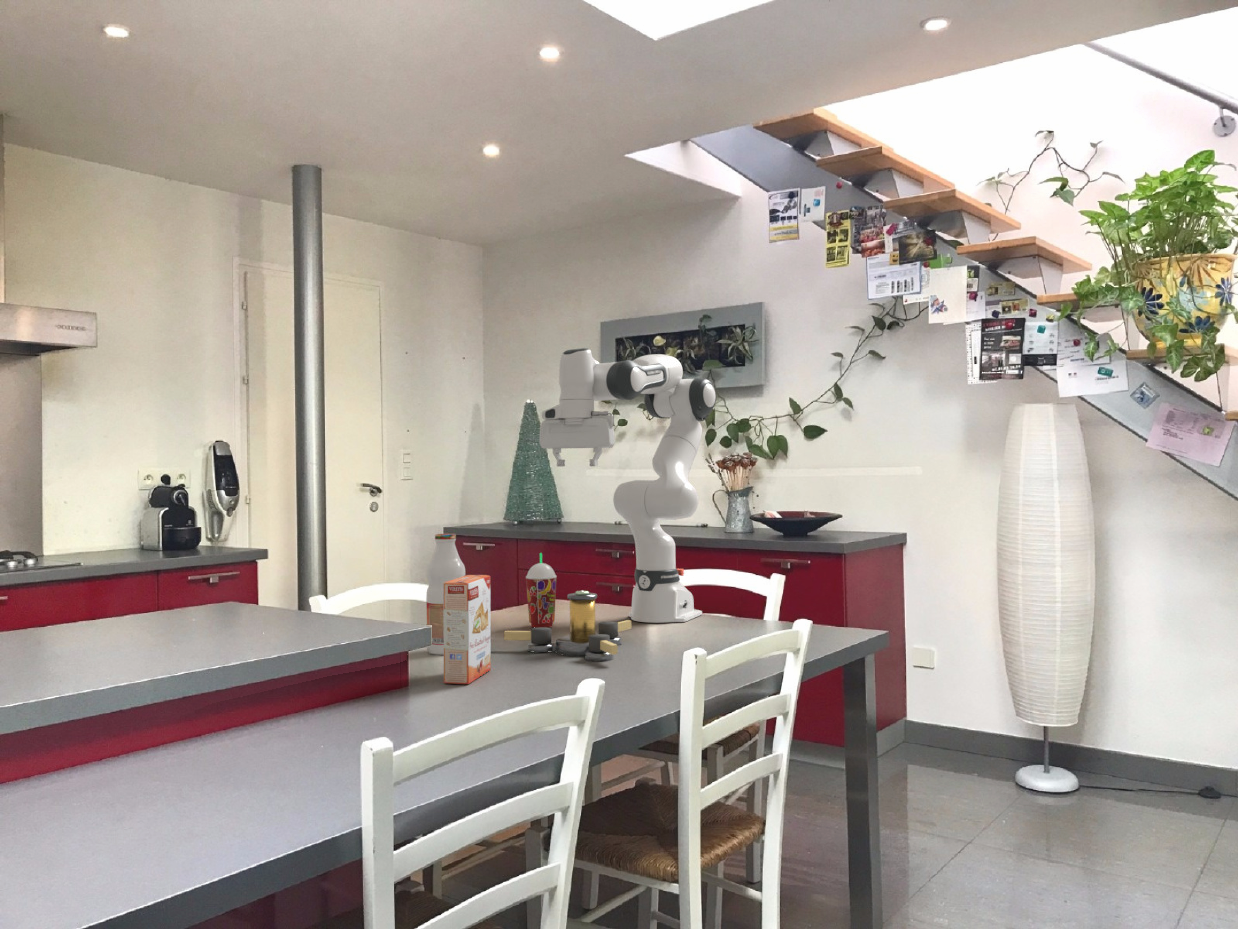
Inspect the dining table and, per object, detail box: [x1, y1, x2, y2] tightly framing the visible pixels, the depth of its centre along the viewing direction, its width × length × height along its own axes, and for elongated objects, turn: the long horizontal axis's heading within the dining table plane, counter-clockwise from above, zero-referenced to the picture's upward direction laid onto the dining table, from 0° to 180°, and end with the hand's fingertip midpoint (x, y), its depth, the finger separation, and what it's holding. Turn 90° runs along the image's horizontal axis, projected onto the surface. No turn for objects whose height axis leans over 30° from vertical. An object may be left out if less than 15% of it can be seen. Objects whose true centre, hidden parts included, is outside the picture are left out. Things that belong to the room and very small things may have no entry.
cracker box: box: [443, 574, 492, 685], centre depth 207 cm, size 14×6×21 cm, turn 168°
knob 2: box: [588, 633, 619, 656], centre depth 222 cm, size 11×5×3 cm, turn 24°
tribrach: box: [527, 590, 622, 662], centre depth 236 cm, size 21×24×14 cm
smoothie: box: [525, 552, 557, 628], centre depth 267 cm, size 8×8×20 cm
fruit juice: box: [425, 533, 466, 656], centre depth 235 cm, size 9×9×28 cm
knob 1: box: [503, 627, 552, 644], centre depth 235 cm, size 11×5×3 cm, turn 84°
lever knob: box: [597, 619, 632, 638], centre depth 244 cm, size 11×5×3 cm, turn 144°
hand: (577, 466), depth 250 cm, fingers open, 8 cm apart
